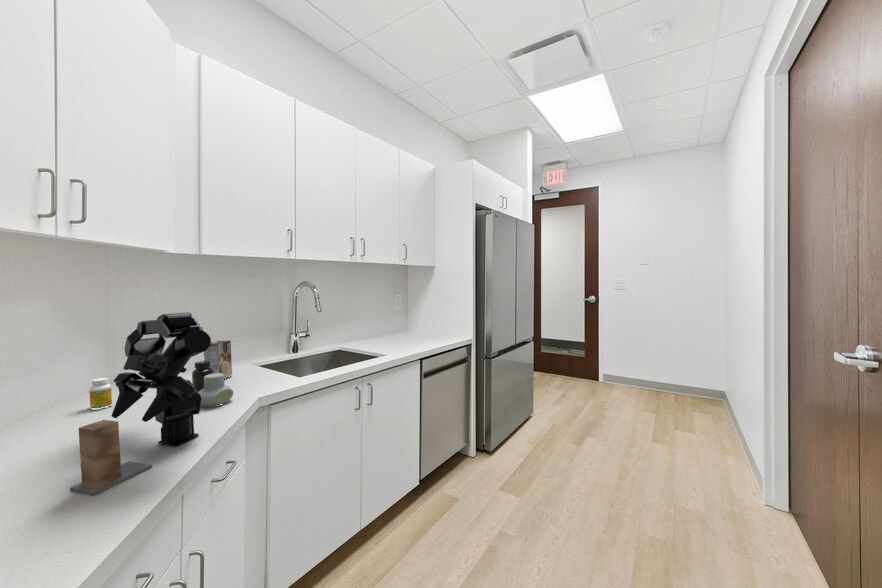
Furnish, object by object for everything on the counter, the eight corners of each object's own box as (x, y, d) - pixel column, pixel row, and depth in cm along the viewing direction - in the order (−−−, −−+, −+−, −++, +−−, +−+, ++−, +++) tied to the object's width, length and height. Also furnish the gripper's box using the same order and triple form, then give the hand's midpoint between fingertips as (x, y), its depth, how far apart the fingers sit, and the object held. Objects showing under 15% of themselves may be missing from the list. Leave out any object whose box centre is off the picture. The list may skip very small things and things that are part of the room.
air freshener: (210, 410, 118) (209, 380, 118) (191, 408, 120) (189, 378, 120) (237, 399, 129) (236, 371, 128) (219, 397, 131) (218, 370, 131)
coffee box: (218, 376, 160) (216, 340, 159) (232, 376, 160) (231, 340, 159) (204, 382, 151) (202, 344, 150) (220, 382, 151) (218, 344, 150)
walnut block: (106, 473, 79) (103, 419, 78) (121, 476, 78) (118, 421, 77) (81, 485, 75) (78, 427, 74) (97, 488, 73) (93, 430, 73)
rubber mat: (129, 463, 84) (128, 461, 84) (151, 467, 83) (151, 464, 82) (69, 490, 74) (69, 487, 74) (94, 495, 72) (94, 492, 72)
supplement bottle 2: (190, 394, 136) (188, 362, 135) (210, 389, 141) (209, 359, 140) (196, 397, 131) (194, 365, 131) (217, 393, 136) (216, 361, 136)
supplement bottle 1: (93, 411, 119) (91, 382, 118) (88, 408, 121) (86, 380, 121) (114, 406, 123) (113, 378, 123) (109, 404, 126) (107, 376, 126)
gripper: (120, 339, 88) (65, 399, 78) (180, 342, 83) (129, 406, 73) (155, 364, 96) (109, 421, 86) (211, 367, 91) (170, 428, 81)
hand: (128, 419), depth 81 cm, fingers open, 9 cm apart
